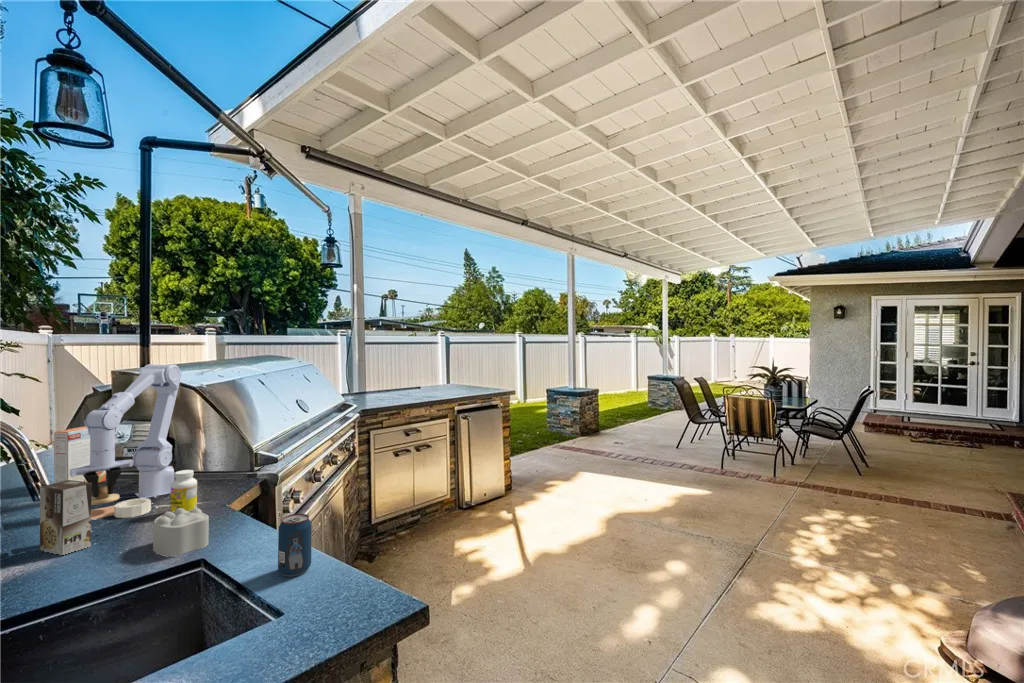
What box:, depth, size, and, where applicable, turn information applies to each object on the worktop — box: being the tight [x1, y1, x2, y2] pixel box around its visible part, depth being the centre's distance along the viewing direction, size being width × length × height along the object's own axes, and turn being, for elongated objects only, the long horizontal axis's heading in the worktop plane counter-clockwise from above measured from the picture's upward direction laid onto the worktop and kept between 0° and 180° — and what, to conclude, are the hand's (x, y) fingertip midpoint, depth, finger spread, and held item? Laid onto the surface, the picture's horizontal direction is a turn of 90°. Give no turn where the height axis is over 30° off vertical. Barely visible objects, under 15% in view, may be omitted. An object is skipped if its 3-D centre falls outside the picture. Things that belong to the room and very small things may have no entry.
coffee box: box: [39, 480, 93, 556], centre depth 121 cm, size 9×6×16 cm
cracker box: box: [53, 425, 107, 484], centre depth 172 cm, size 14×6×21 cm, turn 174°
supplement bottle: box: [169, 469, 198, 512], centre depth 145 cm, size 7×7×13 cm
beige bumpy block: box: [152, 507, 210, 556], centre depth 123 cm, size 10×13×9 cm
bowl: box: [113, 497, 152, 519], centre depth 145 cm, size 8×8×4 cm
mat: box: [91, 505, 114, 521], centre depth 145 cm, size 10×10×1 cm
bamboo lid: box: [91, 483, 120, 506], centre depth 145 cm, size 8×8×4 cm
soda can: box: [277, 513, 313, 577], centre depth 110 cm, size 7×7×12 cm
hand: (102, 495), depth 145 cm, fingers closed on bamboo lid, 3 cm apart
